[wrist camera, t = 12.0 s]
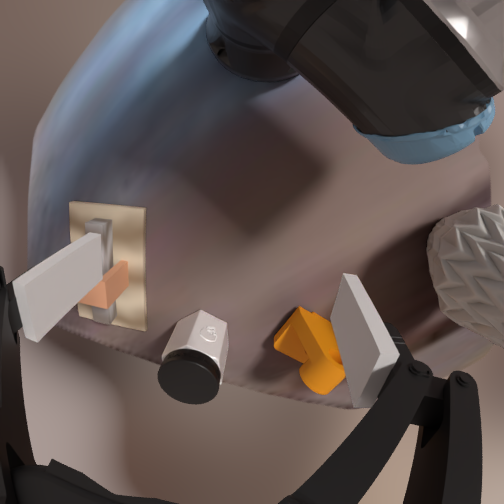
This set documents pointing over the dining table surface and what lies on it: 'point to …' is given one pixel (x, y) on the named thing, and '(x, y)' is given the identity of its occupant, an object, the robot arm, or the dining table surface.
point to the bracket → (312, 349)
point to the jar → (195, 359)
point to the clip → (108, 287)
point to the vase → (470, 269)
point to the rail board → (116, 257)
